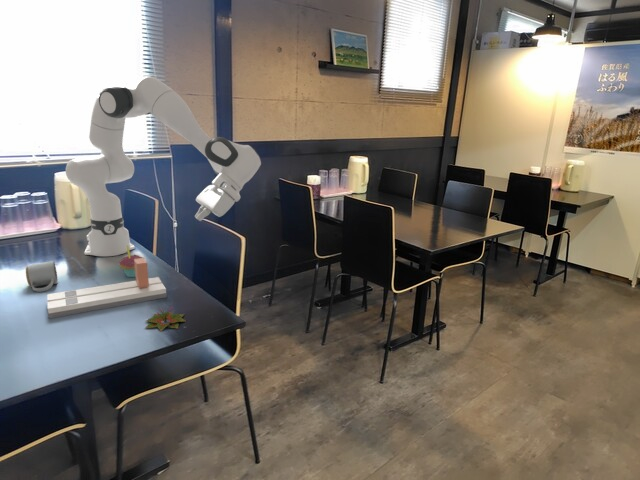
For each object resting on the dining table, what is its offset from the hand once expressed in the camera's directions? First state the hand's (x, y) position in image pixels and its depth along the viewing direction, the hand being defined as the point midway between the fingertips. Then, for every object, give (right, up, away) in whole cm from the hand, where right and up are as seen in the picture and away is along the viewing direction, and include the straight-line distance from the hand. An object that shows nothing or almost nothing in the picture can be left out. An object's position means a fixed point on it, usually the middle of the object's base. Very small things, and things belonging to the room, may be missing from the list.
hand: (197, 219), depth 141 cm
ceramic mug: (-51, -22, +1) cm, 55 cm away
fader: (-17, -23, -3) cm, 28 cm away
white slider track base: (-25, -26, -8) cm, 37 cm away
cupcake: (-27, -20, +13) cm, 35 cm away
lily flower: (-3, -31, -19) cm, 36 cm away
